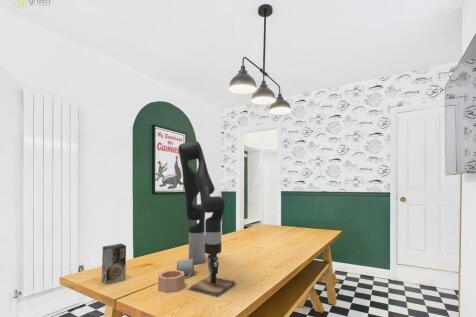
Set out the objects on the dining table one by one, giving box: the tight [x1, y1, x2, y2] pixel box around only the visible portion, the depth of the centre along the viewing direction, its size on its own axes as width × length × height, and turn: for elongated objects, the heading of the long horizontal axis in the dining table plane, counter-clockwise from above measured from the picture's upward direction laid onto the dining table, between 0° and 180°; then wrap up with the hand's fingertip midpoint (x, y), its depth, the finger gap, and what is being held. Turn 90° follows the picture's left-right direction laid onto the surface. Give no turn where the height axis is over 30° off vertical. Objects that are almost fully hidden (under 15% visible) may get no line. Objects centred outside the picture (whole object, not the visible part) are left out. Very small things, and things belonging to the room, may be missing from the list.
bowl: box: [157, 269, 185, 294], centre depth 119 cm, size 11×11×6 cm
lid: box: [189, 269, 235, 296], centre depth 119 cm, size 14×14×7 cm
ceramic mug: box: [176, 258, 195, 280], centre depth 134 cm, size 11×8×8 cm
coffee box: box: [101, 243, 127, 285], centre depth 129 cm, size 9×6×16 cm
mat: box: [186, 282, 238, 298], centre depth 119 cm, size 16×16×1 cm
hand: (212, 281), depth 119 cm, fingers closed on lid, 2 cm apart
